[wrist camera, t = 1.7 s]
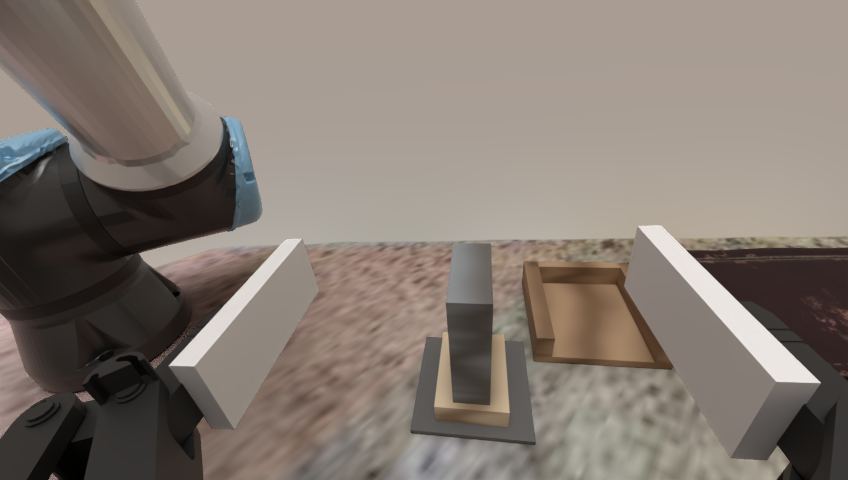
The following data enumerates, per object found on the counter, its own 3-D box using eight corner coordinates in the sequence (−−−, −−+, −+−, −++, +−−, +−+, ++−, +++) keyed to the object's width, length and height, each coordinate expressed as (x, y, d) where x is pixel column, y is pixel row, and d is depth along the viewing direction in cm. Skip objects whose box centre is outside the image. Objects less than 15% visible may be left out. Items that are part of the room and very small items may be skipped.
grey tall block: (435, 420, 29) (422, 307, 22) (444, 345, 36) (435, 240, 29) (508, 426, 28) (517, 310, 21) (503, 348, 35) (509, 240, 28)
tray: (534, 361, 34) (537, 338, 32) (522, 282, 44) (523, 261, 42) (671, 369, 32) (683, 344, 30) (626, 284, 42) (632, 262, 40)
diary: (642, 277, 44) (652, 244, 41) (868, 274, 41) (894, 238, 38) (746, 419, 28) (773, 379, 25) (1127, 432, 25) (1202, 388, 22)
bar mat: (410, 432, 29) (410, 430, 29) (426, 339, 37) (426, 337, 37) (535, 444, 27) (535, 442, 27) (522, 344, 35) (522, 341, 35)
